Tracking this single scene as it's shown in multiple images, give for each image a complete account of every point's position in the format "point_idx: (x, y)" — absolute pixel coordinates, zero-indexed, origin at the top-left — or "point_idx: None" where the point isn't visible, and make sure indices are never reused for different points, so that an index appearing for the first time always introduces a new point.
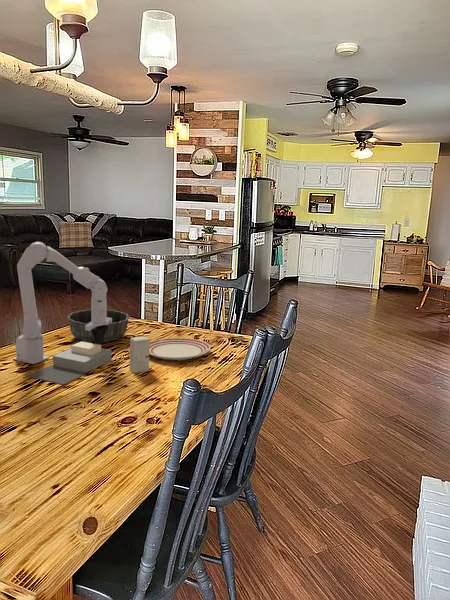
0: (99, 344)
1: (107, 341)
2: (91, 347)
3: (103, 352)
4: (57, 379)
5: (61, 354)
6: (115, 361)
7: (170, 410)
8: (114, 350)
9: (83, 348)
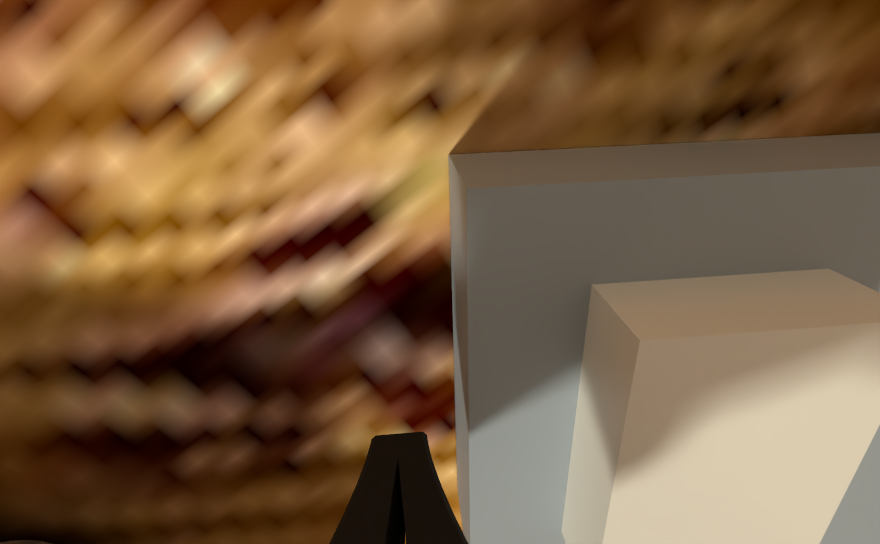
0: (427, 445)
1: (28, 540)
2: (828, 374)
3: (639, 213)
4: None
5: (850, 518)
6: (466, 68)
7: None
8: (149, 340)
9: (859, 437)
